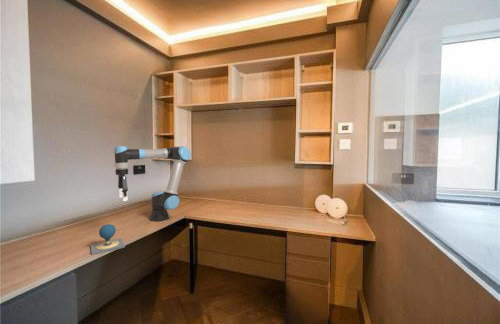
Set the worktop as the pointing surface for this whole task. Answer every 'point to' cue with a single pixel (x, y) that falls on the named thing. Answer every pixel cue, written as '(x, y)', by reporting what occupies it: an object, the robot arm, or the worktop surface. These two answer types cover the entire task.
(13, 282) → the worktop surface
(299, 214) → the worktop surface
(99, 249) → the socket board
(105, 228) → the light bulb
